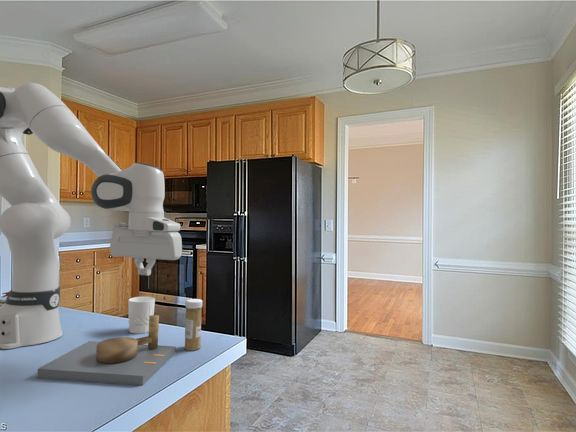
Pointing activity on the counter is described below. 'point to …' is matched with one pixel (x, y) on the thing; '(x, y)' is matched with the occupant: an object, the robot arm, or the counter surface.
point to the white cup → (140, 314)
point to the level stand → (107, 365)
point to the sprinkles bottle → (193, 324)
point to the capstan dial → (127, 345)
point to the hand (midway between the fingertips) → (144, 274)
